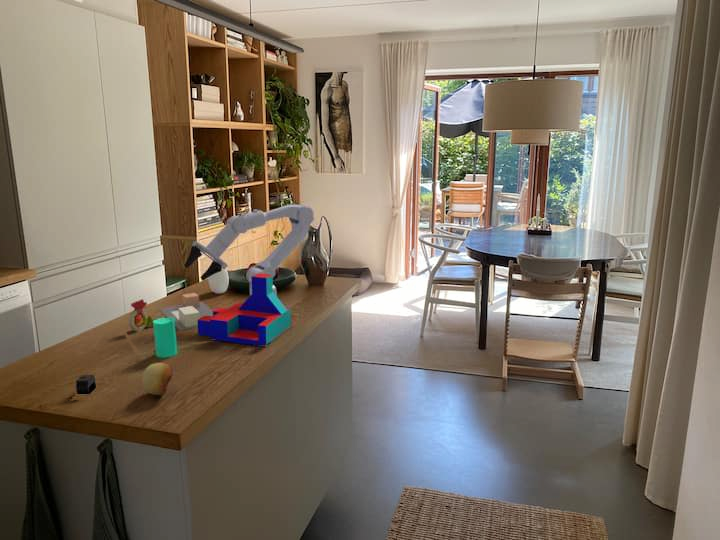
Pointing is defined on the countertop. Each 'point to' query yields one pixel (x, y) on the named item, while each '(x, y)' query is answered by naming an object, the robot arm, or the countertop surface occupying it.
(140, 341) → the countertop surface
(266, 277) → the building blocks toy
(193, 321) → the cream brick
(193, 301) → the terracotta brick
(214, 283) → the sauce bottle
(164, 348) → the candle
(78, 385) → the black block
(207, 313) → the baseplate
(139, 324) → the bird rattle
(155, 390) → the fruit
